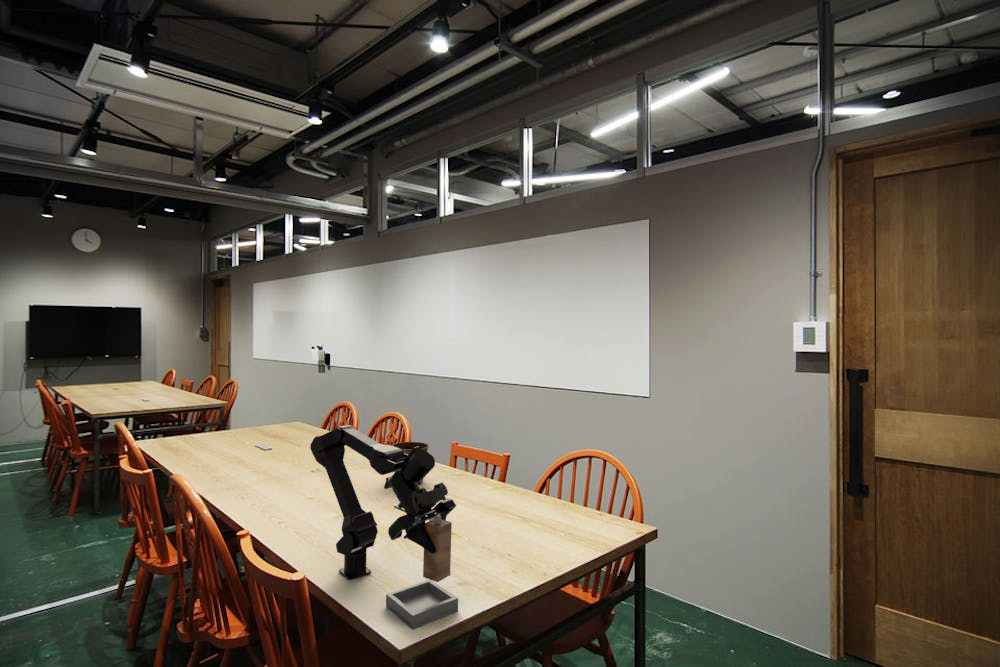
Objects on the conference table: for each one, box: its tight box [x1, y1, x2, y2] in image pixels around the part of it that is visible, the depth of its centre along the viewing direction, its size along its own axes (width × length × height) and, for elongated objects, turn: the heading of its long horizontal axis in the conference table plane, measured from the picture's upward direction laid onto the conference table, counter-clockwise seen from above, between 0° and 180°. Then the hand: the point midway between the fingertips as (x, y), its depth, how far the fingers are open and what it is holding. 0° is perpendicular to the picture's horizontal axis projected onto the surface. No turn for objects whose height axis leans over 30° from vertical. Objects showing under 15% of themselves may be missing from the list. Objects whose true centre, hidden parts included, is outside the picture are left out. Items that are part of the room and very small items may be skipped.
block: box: [422, 515, 453, 583], centre depth 120 cm, size 4×4×14 cm
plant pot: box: [391, 441, 430, 485], centre depth 223 cm, size 16×16×16 cm
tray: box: [385, 579, 459, 631], centre depth 118 cm, size 12×12×3 cm
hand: (441, 549), depth 119 cm, fingers closed on block, 4 cm apart
